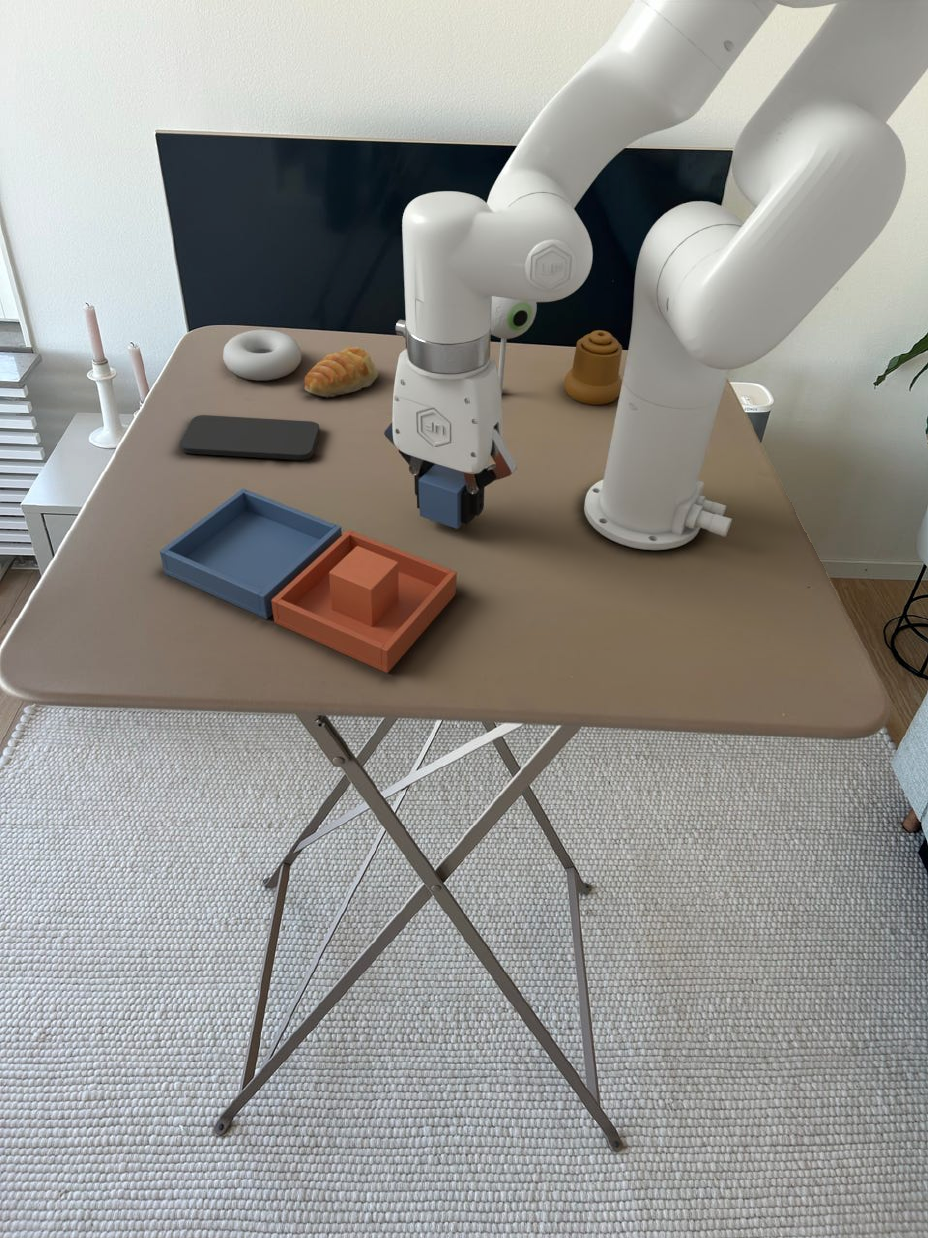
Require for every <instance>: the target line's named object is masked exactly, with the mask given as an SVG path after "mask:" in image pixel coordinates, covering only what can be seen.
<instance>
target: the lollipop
mask: <svg viewBox="0 0 928 1238" xmlns="http://www.w3.org/2000/svg"><path fill="white" fill-rule="evenodd" d="M537 307H538V306H537V302H530V301H523V300H516V299H510V298H503V297H496V296H492V310H491V336H492V337H493V336H494V337H496V338H498V339H500V346H499V347H500V348H499V350H500V351H499V359H498V360H499V361H498V370H497V371H498V377H499V382H500V390H501V395H502V394H503V384H504V372H505V364H506V363H505V361H506V351H507V340H509V339H514V338H517V337H519V336H521V335H523V334H524V333H526V332H527V331H528V330H529V328H530V327H531V326H532V324H533V323H534V320H535V318H536V314H537V310H538V308H537Z"/></svg>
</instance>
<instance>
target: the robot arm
mask: <svg viewBox="0 0 928 1238" xmlns="http://www.w3.org/2000/svg"><path fill="white" fill-rule="evenodd" d="M778 5H780V6H784V7H788V8H790V9H791V8H792V9H810V8H820V7H825V6H830V5H834V6H833V8H832V9H831V11H830V12H829V14H828V15H827V17H826V18H825V20H824V21H823V23H822V24H821V25H820V27H819V29H817V31H816V32H815V34H814V35H813V37H811V39H810V41H809V42H808V43H807V44H806V46H805V47H804V48H803V50H802V51H801V52H800V53H799V55H798V56H797V58H796V59H795V60H794V61H793V63H792V64H791V65H790V67H789V68H788V69H787V70H786V72H785V73H784V74H783V76H782V77H781V78H780V80H779V81H778V82H777V83H776V85H775V87H774V88H773V89H772V90H771V91H770V93H769V94H768V95H767V96H766V98H764V101H763V102H761V104H760V106H759V107H758V108H757V110H755V112H754V113H753V114H752V116H751V118H750V119H749V120H748V121H747V123H746V124H745V126H744V127H743V129H742V131H741V132H740V134H739V135H738V138H737V140H736V142H735V144H734V147H733V151H732V155H731V171H732V176H733V180H734V182H735V184H736V186H737V188H738V189H739V191H740V193H741V194H742V195H743V196H744V198H745V199H746V200H747V201H748V202H749V203H750V204H751V205H752V206H753V207H754V208H755V209H754V210H753V212H751V214H750V215H749V217H748V218H747V219H746V221H743V220H742V219H741V218H740V217H739V216H738V215H736V214H735V213H734V212H733V211H732V210H730V209H728V208H727V207H724V206H722V205H720V204H717V203H715V202H711V201H703V200H700V201H699V200H698V201H697V200H696V201H695V200H694V201H689V202H686V203H684V202H683V203H681V204H679V205H677V206H675V207H673V208H671V209H669V210H668V211H667V212H664V214H663V215H662V216H660V218H658V219H657V220H656V221H655V223H654V224H653V225H652V226H651V228H650V229H649V231H648V232H647V234H646V236H645V238H644V240H643V241H642V245H641V248H640V250H639V254H638V257H637V262H636V269H635V276H634V285H633V286H634V289H633V302H632V303H633V305H632V306H633V307H632V320H631V330H630V338H629V344H628V350H627V356H626V362H625V367H624V373H623V376H622V379H621V380H622V386H621V391H620V395H619V396H618V397H619V398H618V402H617V406H616V412H615V417H614V423H613V429H612V433H611V438H610V444H609V450H608V455H607V460H606V465H605V471H604V475H603V479H601V480H599V481H597V482H595V483H594V484H593V485H592V486H591V487H590V488H589V489H588V491H587V492H586V495H585V498H584V505H583V511H584V516H585V518H586V519H587V521H588V523H589V524H590V525H591V527H593V529H594V530H596V531H597V532H598V533H600V534H601V536H604V537H605V538H607V539H608V540H610V541H611V542H612V541H613V542H614V543H617V544H620V545H622V546H626V547H630V548H632V549H638V550H645V551H648V550H649V551H664V550H669V549H675V548H678V547H681V546H683V545H686V544H687V543H689V542H691V541H692V540H694V538H695V537H696V536H698V533H699V532H700V529H704V530H706V531H708V532H710V533H712V534H716V535H719V536H721V537H724V538H725V537H726V536H727V534H728V532H729V530H730V527H731V524H732V520H733V519H732V518H730V517H727V516H724V514H725V512H726V509H727V505H725V504H722V503H719V502H716V501H711V500H709V499H706V496H705V495H702V491H703V488H704V485H705V482H704V481H701V480H699V478H700V475H701V472H702V467H703V465H704V460H705V458H706V457H705V456H706V453H707V450H708V446H709V443H710V439H711V435H712V432H713V428H714V424H715V420H716V417H717V414H718V410H719V406H720V403H721V400H722V396H723V393H724V391H725V386H726V383H727V380H728V375H729V370H734V369H740V368H743V367H746V366H748V365H751V364H753V363H755V362H757V361H759V360H761V359H762V358H764V357H765V356H766V355H768V354H769V353H770V352H772V351H773V350H774V349H775V348H777V347H778V346H779V345H780V344H781V343H782V342H784V341H785V339H787V338H788V337H789V335H790V334H791V333H792V332H793V331H794V330H795V329H796V328H797V327H799V325H800V324H801V323H802V322H803V320H804V319H805V318H806V317H807V316H808V315H809V314H810V313H811V312H812V311H813V310H814V308H815V307H816V306H817V305H818V304H819V303H820V302H821V301H822V300H823V298H825V296H827V294H828V293H829V292H830V291H831V290H832V289H833V288H834V286H835V285H837V283H838V282H839V281H840V280H841V279H843V277H844V276H845V274H846V273H847V272H848V271H849V270H850V269H851V268H852V267H853V266H854V265H855V264H856V262H857V261H858V260H859V259H860V258H861V257H862V256H863V254H865V252H866V251H867V250H868V249H869V248H870V247H871V245H873V243H874V242H875V241H876V240H877V238H878V237H879V236H880V234H881V233H882V232H883V230H884V229H885V227H886V226H887V224H888V222H889V221H890V219H891V217H892V215H893V214H894V212H895V209H896V208H897V205H898V203H899V201H900V198H901V195H902V192H903V189H904V186H905V181H906V174H907V161H906V152H905V150H904V146H903V144H902V142H901V139H900V137H899V136H898V135H897V134H896V133H897V132H895V131H894V129H893V128H892V127H891V125H889V124H888V123H887V122H888V121H889V120H890V118H891V117H892V115H894V113H895V111H896V110H898V108H899V107H900V106H901V104H902V103H903V102H904V100H905V99H906V98H907V96H908V95H909V94H910V92H911V91H912V90H913V88H914V87H915V86H916V85H917V83H918V82H919V81H920V80H921V78H922V77H923V76H924V75H925V73H926V72H927V71H928V0H634V1H633V2H632V4H631V5H630V7H629V8H628V10H627V11H626V13H625V14H624V16H623V17H622V19H621V20H620V21H619V23H618V25H617V26H616V28H615V29H614V31H613V32H612V34H611V35H610V36H609V38H607V40H606V42H605V43H604V44H603V45H602V46H601V47H600V49H598V50H597V51H596V52H595V53H594V54H593V55H592V56H591V57H590V58H589V59H587V60H586V62H584V63H583V64H582V66H581V67H580V68H579V69H578V70H577V71H576V73H574V75H573V76H572V77H571V78H570V79H569V80H568V81H567V82H566V83H565V84H564V85H563V86H562V87H561V88H560V89H559V90H558V91H557V92H556V93H555V94H554V95H553V96H552V97H551V99H550V100H549V101H548V102H547V103H546V105H544V107H543V108H542V110H540V112H539V113H538V115H537V116H536V117H535V119H534V120H533V122H532V123H531V124H530V126H529V128H528V129H527V130H526V131H525V134H524V135H523V136H522V138H521V140H520V141H519V143H518V145H517V146H516V147H515V149H514V151H513V152H512V153H511V155H510V157H509V158H508V160H507V161H506V163H505V164H504V166H503V168H502V169H501V171H500V173H499V174H498V176H497V178H496V180H495V181H494V183H493V185H492V188H491V189H490V191H489V195H488V197H487V200H486V201H485V200H484V199H483V198H480V197H479V196H476V195H474V194H470V193H466V192H461V191H452V190H451V191H449V190H447V191H446V190H444V191H434V192H428V193H425V194H421V195H419V196H417V197H415V198H414V199H412V200H411V201H410V202H409V203H408V204H407V205H406V207H405V209H404V212H403V214H402V215H403V216H402V220H401V222H402V224H401V227H402V229H401V231H402V233H401V234H402V255H403V260H402V261H403V282H404V307H405V309H404V310H405V320H404V319H399V320H398V321H397V322H396V325H395V334H396V335H399V336H402V337H403V338H405V349H404V350H403V351H401V352H400V354H399V355H398V360H397V365H396V370H395V371H396V372H395V378H394V385H393V396H392V417H391V419H392V421H391V423H390V424H389V425H388V426H387V427H386V429H385V430H384V432H383V435H384V436H385V438H386V439H387V441H389V442H390V443H391V444H392V446H394V447H395V448H396V449H397V450H398V453H399V454H400V455H401V457H402V458H403V459H404V461H405V462H406V463H407V465H408V471H409V473H410V474H411V475H412V476H414V478H413V479H414V495H415V496H416V508H417V509H419V510H420V508H419V479H420V478H421V477H422V476H423V475H424V474H425V473H426V472H428V471H429V470H430V469H431V468H432V467H433V466H434V465H435V464H438V465H441V466H445V467H448V468H451V469H454V470H457V471H461V472H463V476H464V480H465V484H466V488H465V489H464V491H463V492H462V495H461V522H462V525H466V526H468V525H470V523H471V522H472V521H473V520H474V519H475V518H476V517H479V516H480V515H481V514H482V512H483V510H484V506H485V488H486V487H487V486H489V485H490V484H492V483H493V482H494V481H497V480H502V479H504V478H507V477H510V476H511V475H512V474H513V473H514V472H515V471H516V469H517V468H518V464H517V463H516V461H515V459H514V458H513V456H512V454H511V452H510V451H509V449H508V447H507V445H506V444H505V442H504V441H503V404H502V403H503V402H502V394H501V390H500V382H499V377H498V371H499V370H498V366H497V362H496V360H495V359H493V358H492V357H491V336H492V334H491V310H492V296H496V297H503V298H510V299H516V300H523V301H530V302H536V303H550V302H555V301H559V300H563V299H565V298H567V297H569V296H571V295H572V294H574V293H575V292H576V291H577V290H579V288H580V287H581V286H582V285H583V284H584V283H585V281H587V278H588V276H589V274H590V271H591V269H592V264H593V256H594V255H593V254H594V252H593V245H592V241H591V238H590V235H589V232H588V229H587V228H586V226H585V224H584V223H583V221H582V219H581V218H580V216H579V215H578V213H577V211H576V210H575V208H576V206H577V205H578V203H579V202H580V200H581V199H582V198H583V196H584V195H585V193H586V192H587V191H588V189H589V188H590V186H591V185H592V184H593V182H594V181H595V180H596V178H597V177H598V175H599V174H600V173H601V172H602V171H603V169H604V168H605V167H606V166H607V165H608V164H610V162H611V161H612V160H613V159H614V158H615V157H616V156H617V155H618V154H619V153H621V152H622V151H623V150H624V149H626V148H627V147H628V146H629V145H631V144H633V143H634V142H636V141H637V140H639V139H642V138H644V137H647V136H648V135H652V134H654V133H658V132H662V131H664V130H668V129H671V128H674V127H676V126H678V125H680V124H683V123H684V122H687V121H688V120H690V119H691V118H693V117H694V116H695V115H696V114H697V113H698V112H700V110H701V109H702V107H703V106H704V105H705V104H706V102H707V100H708V99H709V98H710V96H711V95H712V94H713V92H714V91H715V90H716V88H717V87H718V86H719V84H720V83H721V81H722V80H723V79H724V77H725V75H726V74H727V73H728V71H729V70H730V69H731V67H732V66H733V64H734V63H735V62H736V60H737V59H738V58H739V57H740V55H741V54H742V53H743V51H744V50H745V48H746V47H747V46H748V45H749V43H750V42H751V41H752V39H753V38H754V37H755V35H756V34H757V33H758V31H759V30H760V29H761V27H762V26H763V24H765V22H766V20H767V19H768V18H769V17H770V15H771V14H772V13H773V12H774V10H775V9H776V7H777V6H778ZM490 457H491V458H492V460H493V462H494V463H493V464H491V465H488V464H489V461H490Z"/></svg>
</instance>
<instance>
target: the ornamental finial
mask: <svg viewBox="0 0 928 1238" xmlns="http://www.w3.org/2000/svg"><path fill="white" fill-rule="evenodd" d="M622 353H623V345H622V344H621V343H619V341H618V340H617V338H615V337H614V336H613V335H612V334H611V333H610V332H609V331H606V330H600V329H598V330H593V331H592V332H591V333H587V334H586V335H584V336H583V337H581V338H580V339H578V340H577V342H576V345H575V352H574V356H573V362H572V366H571V368H570V369H569V370H568V372H566V375H565V376H564V381H563V386H564V389H565V391H566V393H567V395H569V396H570V398H572V399H573V400H575V401H577V402H579V403H582V404H586V405H591V406H601V405H606V404H609V403H612V402H613V401H616V400H617V398H618V397H619V396H620V391H621V386H622V380H623V379H622V378H621V376H620V368H621V361H622V360H621V359H622Z"/></svg>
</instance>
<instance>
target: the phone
mask: <svg viewBox="0 0 928 1238" xmlns="http://www.w3.org/2000/svg"><path fill="white" fill-rule="evenodd" d="M320 430H321V429H320V424H319V423H317V422H315V421H310V420H295V419H279V418H278V419H277V418H262V417H261V418H259V417H246V416H245V417H243V416H228V415H227V416H226V415H209V414H208V415H207V414H203V415H202V414H200V415H196V416H194V417H193V418H191V421H190V422H189V425H188V426H187V428H186V430H185V431H184V434H183V436H182V438H181V440H180V442H179V447H180V451H181V452H183V453H184V454H185V453H186V454H192V455H193V454H194V455H212V456H226V457H227V456H228V457H245V458H259V459H261V458H262V459H280V460H296V461H303V460H308V459H310V458H312V456H313V454H314V452H315V449H316V445H317V442H318V440H319V439H318V438H319V435H320V432H321V431H320Z"/></svg>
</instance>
